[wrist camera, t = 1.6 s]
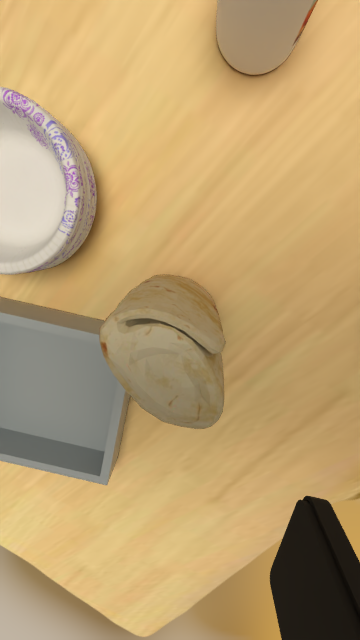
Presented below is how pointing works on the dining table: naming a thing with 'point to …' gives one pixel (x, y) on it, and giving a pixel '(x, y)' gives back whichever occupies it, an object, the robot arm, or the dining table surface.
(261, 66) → the milk bottle
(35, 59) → the dining table surface
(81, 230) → the paper bowls
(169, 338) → the food model
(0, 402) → the bin
